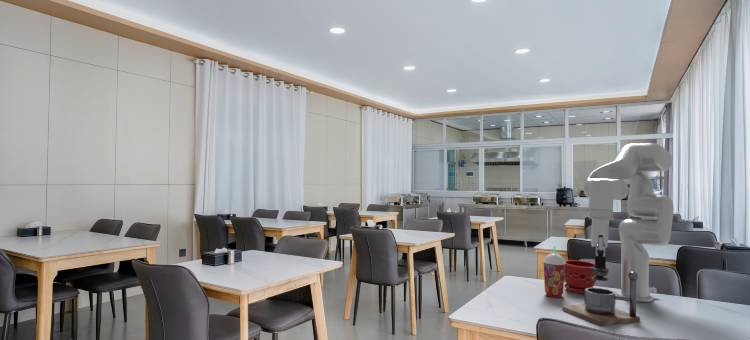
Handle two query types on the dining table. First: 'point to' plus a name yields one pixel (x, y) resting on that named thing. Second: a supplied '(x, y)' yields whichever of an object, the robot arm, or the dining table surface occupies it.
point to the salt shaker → (599, 273)
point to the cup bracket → (606, 305)
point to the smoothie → (554, 274)
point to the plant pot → (578, 276)
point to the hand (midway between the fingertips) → (600, 266)
